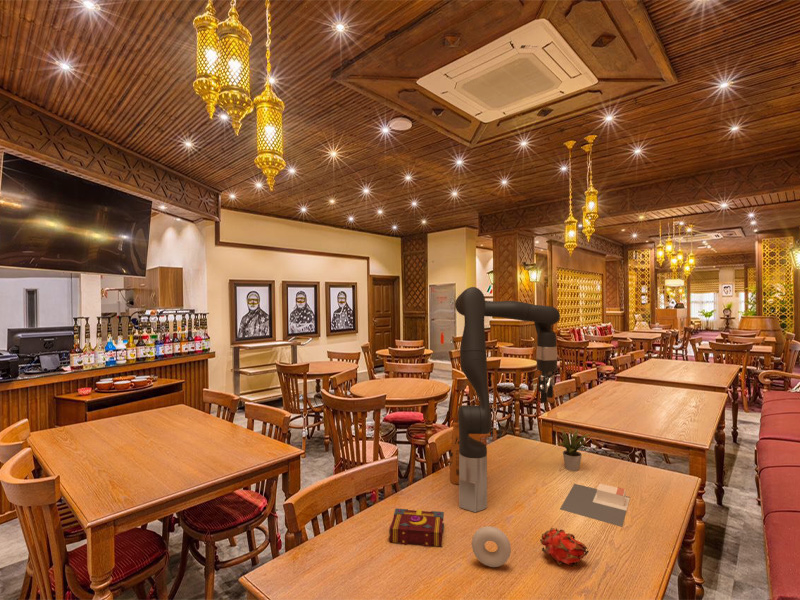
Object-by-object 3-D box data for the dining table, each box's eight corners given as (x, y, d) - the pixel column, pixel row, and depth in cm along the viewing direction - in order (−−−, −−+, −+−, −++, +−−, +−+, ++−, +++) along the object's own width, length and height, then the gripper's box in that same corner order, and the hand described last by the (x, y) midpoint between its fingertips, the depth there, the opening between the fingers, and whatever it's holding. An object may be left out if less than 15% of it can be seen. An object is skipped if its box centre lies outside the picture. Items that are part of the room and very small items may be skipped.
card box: (596, 499, 137) (596, 489, 137) (599, 493, 141) (599, 482, 141) (623, 506, 132) (623, 495, 132) (625, 499, 137) (625, 488, 137)
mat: (622, 528, 121) (622, 526, 121) (559, 511, 131) (559, 508, 131) (630, 498, 139) (630, 496, 139) (574, 485, 149) (574, 483, 149)
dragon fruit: (536, 558, 110) (584, 575, 105) (538, 556, 103) (589, 574, 99) (541, 524, 114) (587, 539, 110) (543, 520, 107) (592, 536, 103)
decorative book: (442, 549, 112) (442, 531, 112) (385, 543, 115) (385, 526, 115) (443, 526, 123) (443, 509, 123) (392, 522, 126) (392, 506, 126)
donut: (511, 564, 105) (510, 526, 105) (511, 573, 102) (510, 533, 102) (472, 558, 107) (472, 521, 107) (471, 566, 104) (470, 528, 104)
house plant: (595, 479, 153) (595, 437, 153) (556, 475, 158) (556, 433, 158) (590, 465, 167) (590, 425, 167) (554, 461, 171) (554, 422, 171)
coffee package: (450, 473, 160) (449, 418, 160) (482, 475, 157) (481, 419, 157) (448, 485, 150) (448, 426, 150) (482, 487, 148) (482, 427, 148)
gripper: (542, 355, 164) (542, 394, 164) (531, 359, 152) (531, 402, 152) (561, 356, 159) (561, 397, 159) (552, 361, 148) (552, 405, 148)
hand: (547, 399), depth 156 cm, fingers open, 8 cm apart
